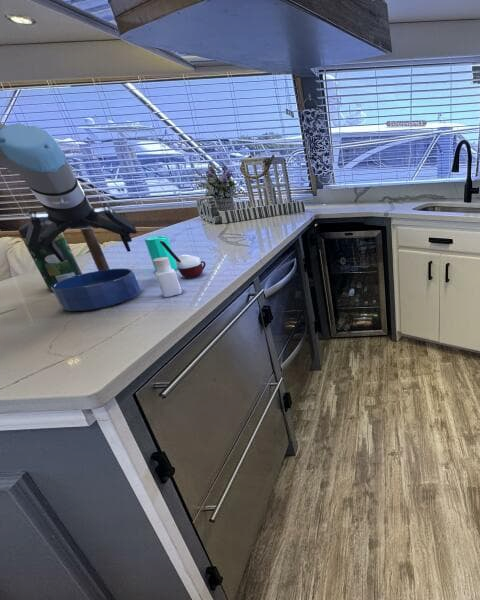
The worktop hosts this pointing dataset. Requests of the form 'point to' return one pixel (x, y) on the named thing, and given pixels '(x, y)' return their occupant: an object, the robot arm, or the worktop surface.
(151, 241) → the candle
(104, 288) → the bowl
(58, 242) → the coffee jar
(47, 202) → the robot arm
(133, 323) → the worktop surface
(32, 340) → the worktop surface
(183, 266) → the cocoa
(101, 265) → the brown wooden pestle
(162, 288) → the salt shaker
